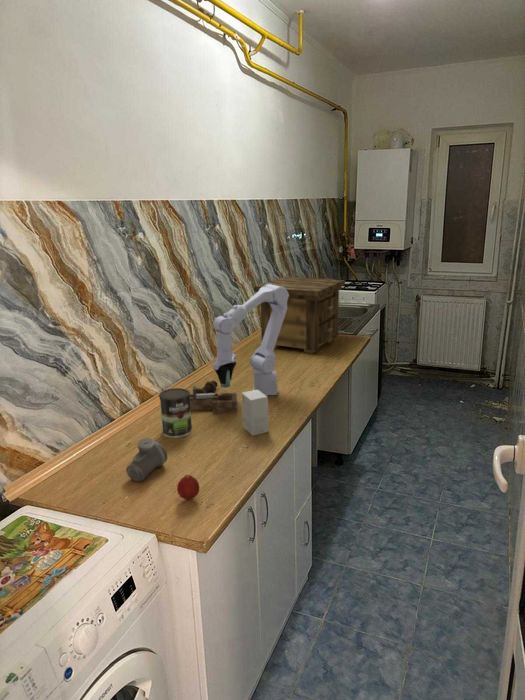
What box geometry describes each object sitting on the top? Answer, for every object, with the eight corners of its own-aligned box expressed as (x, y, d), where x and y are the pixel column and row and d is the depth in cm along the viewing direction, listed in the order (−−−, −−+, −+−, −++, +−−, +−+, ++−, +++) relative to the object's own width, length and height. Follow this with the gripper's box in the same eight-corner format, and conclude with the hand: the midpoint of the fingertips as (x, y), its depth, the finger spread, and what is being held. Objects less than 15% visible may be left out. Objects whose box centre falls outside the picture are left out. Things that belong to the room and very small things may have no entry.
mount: (237, 402, 200) (236, 389, 198) (237, 411, 191) (236, 398, 190) (190, 404, 199) (190, 391, 198) (188, 413, 191) (187, 400, 189)
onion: (179, 494, 140) (176, 468, 137) (200, 493, 140) (198, 467, 138) (177, 507, 134) (175, 480, 132) (199, 505, 135) (197, 478, 132)
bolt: (216, 392, 216) (201, 405, 202) (206, 385, 216) (190, 397, 203) (222, 381, 213) (207, 393, 200) (212, 374, 214) (196, 386, 200)
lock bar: (215, 395, 196) (214, 385, 194) (214, 398, 193) (214, 388, 192) (194, 396, 195) (193, 386, 194) (193, 399, 192) (192, 389, 191)
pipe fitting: (147, 458, 158) (144, 430, 154) (169, 465, 155) (166, 437, 151) (122, 481, 148) (118, 453, 144) (145, 489, 145) (142, 460, 141)
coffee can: (196, 433, 175) (194, 395, 171) (167, 440, 170) (164, 401, 166) (186, 422, 184) (183, 385, 179) (158, 429, 179) (155, 391, 175)
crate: (286, 332, 297) (285, 276, 287) (343, 339, 280) (344, 280, 270) (255, 348, 268) (253, 286, 259) (317, 357, 251) (317, 291, 242)
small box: (269, 432, 175) (268, 396, 171) (252, 436, 172) (250, 400, 168) (258, 423, 182) (257, 388, 178) (242, 426, 179) (241, 392, 175)
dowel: (229, 383, 201) (228, 369, 199) (231, 386, 197) (230, 372, 196) (220, 384, 200) (219, 370, 198) (221, 387, 197) (221, 373, 195)
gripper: (223, 354, 186) (225, 389, 190) (242, 344, 198) (243, 377, 202) (207, 352, 189) (208, 386, 193) (226, 342, 202) (228, 374, 206)
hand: (225, 381), depth 198 cm, fingers closed on dowel, 4 cm apart
